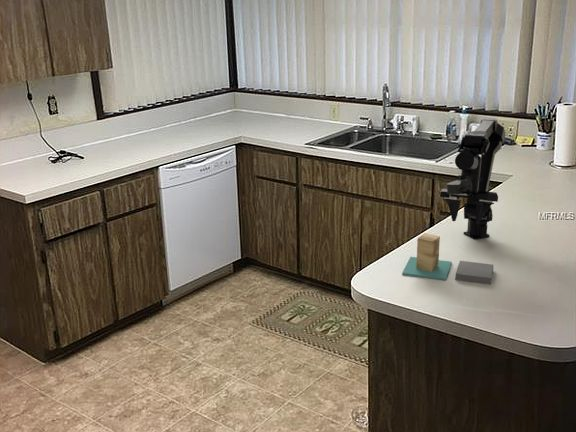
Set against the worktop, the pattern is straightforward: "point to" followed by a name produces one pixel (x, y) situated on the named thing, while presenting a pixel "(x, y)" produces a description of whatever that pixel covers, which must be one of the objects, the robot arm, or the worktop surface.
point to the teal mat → (437, 273)
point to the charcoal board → (474, 272)
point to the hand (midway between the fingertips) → (465, 222)
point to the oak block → (427, 252)
